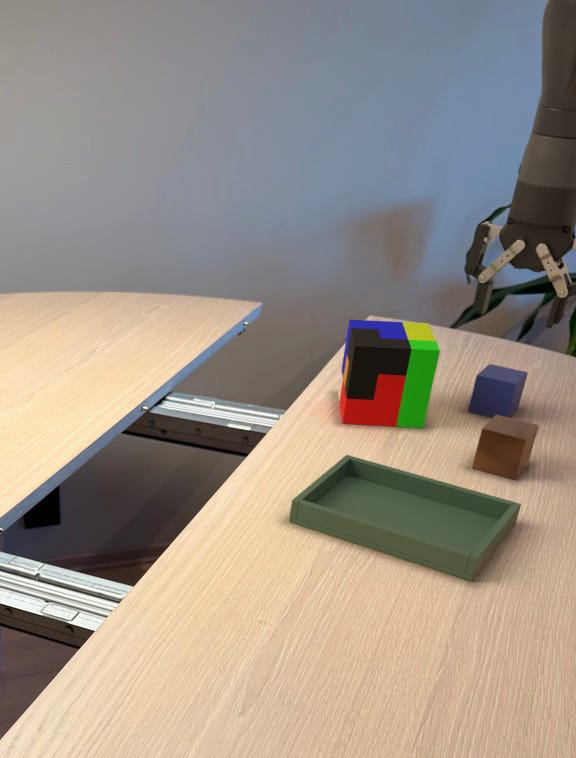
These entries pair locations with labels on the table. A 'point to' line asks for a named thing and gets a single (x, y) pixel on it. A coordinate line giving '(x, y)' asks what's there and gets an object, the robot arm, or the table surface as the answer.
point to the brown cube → (505, 446)
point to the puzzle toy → (387, 373)
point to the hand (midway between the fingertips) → (515, 319)
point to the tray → (406, 515)
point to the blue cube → (497, 391)
